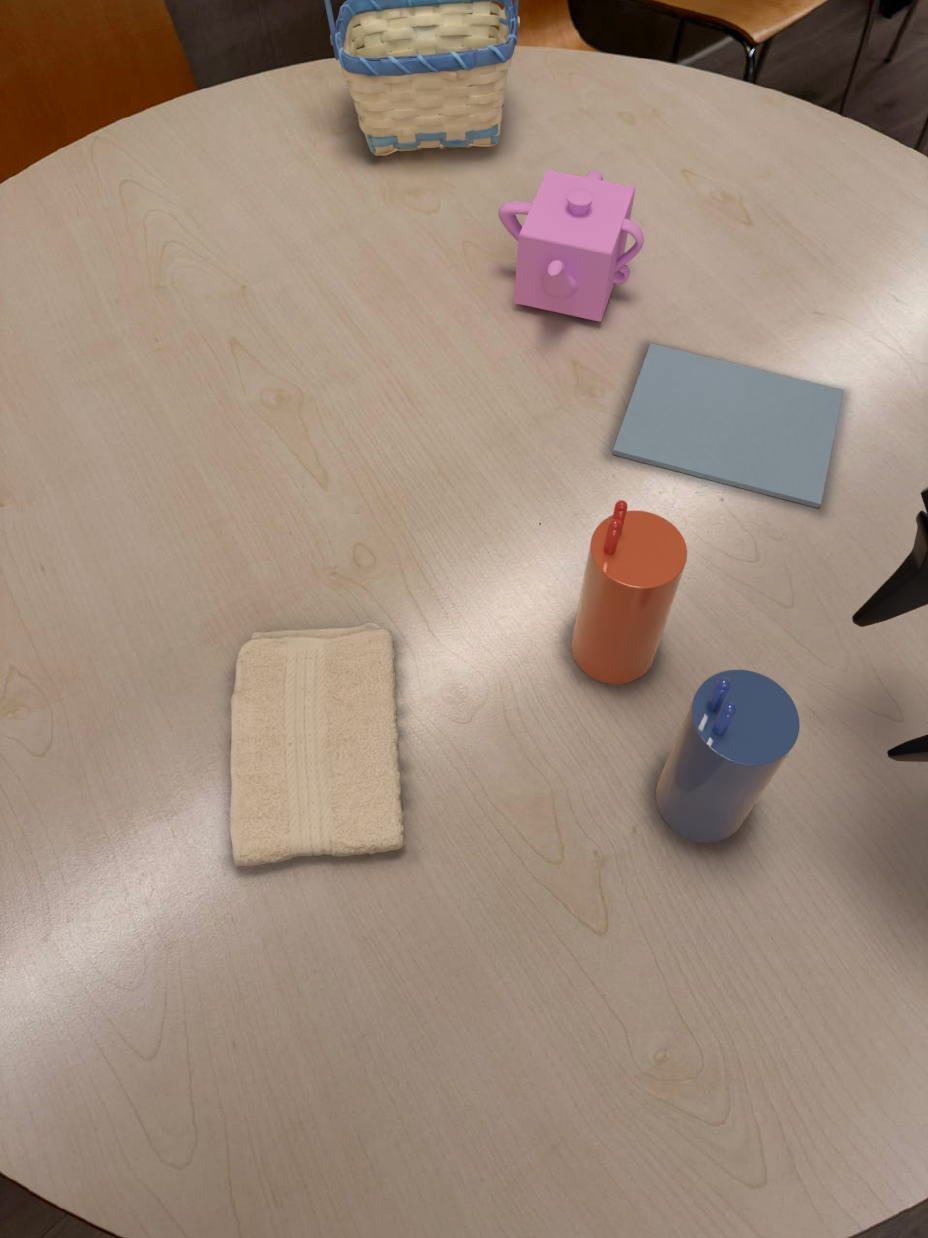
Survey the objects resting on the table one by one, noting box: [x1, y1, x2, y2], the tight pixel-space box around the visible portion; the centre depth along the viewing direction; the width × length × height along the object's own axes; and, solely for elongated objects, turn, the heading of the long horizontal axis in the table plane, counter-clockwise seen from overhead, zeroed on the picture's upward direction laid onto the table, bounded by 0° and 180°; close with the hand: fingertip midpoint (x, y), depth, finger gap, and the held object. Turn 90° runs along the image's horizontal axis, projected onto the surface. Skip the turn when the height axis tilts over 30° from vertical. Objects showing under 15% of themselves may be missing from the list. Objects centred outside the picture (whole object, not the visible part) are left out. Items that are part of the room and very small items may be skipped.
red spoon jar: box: [570, 499, 688, 685], centre depth 72 cm, size 6×6×16 cm
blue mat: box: [611, 343, 845, 509], centre depth 91 cm, size 18×14×1 cm
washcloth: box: [229, 621, 407, 867], centre depth 73 cm, size 12×18×3 cm, turn 6°
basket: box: [323, 0, 521, 157], centre depth 105 cm, size 21×16×24 cm
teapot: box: [497, 169, 645, 323], centre depth 96 cm, size 18×14×10 cm
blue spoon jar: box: [655, 669, 801, 844], centre depth 66 cm, size 6×6×16 cm
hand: (872, 686), depth 62 cm, fingers open, 9 cm apart
